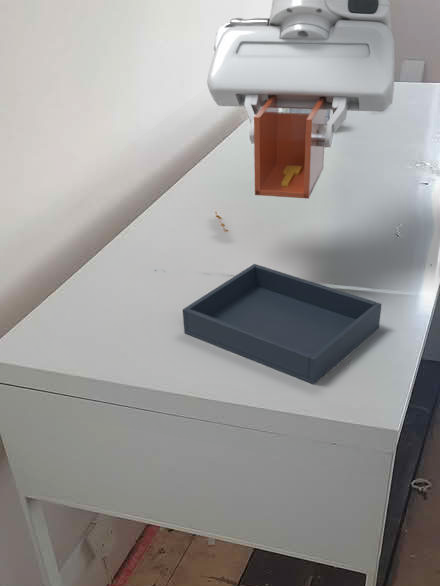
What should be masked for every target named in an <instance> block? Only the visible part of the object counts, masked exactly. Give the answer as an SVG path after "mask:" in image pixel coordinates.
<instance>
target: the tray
mask: <svg viewBox="0 0 440 586" xmlns="http://www.w3.org/2000/svg"><path fill="white" fill-rule="evenodd" d="M381 312H382V303H380V302H377V301H373V300H370V299H367V298H364V297H362V296H358V295H355V294H351V293H349V292H345V291H342V290H339V289H335V288H334V287H333V288H332V287H329V286H326V285H323V284H320V283H316V282H314V281H311V280H307V279H304V278H301V277H298V276H295V275H291V274H289V273H286V272H281V271H279V270H275V269H272V268H270V267H266V266H262V265H259V264H256V263H253V264H252V265H250V266H248V267H246V268H245V269H244V270H242V271H240V272H239V273H238V274H236V275H234V276H233V277H231V278H230V279H228V280H226V281H225V282H224V283H221V284H220V285H219V286H217V287H215V288H214V289H213V290H211V291H209V292H207V293H206V294H205V295H203V296H201V297H200V298H198V299H197V300H195V301H193V302H191V304H189V305H187V306H185V307H184V308H182V318H183V319H182V320H183V332H184V334H186V335H189V336H191V337H193V338H195V339H199V340H201V341H204V342H206V343H209V344H211V345H214V346H217V347H219V348H222V349H224V350H227V351H229V352H231V353H234V354H236V355H239V356H241V357H244V358H247V359H248V360H251V361H254V362H256V363H258V364H261V365H264V366H266V367H269V368H272V369H274V370H276V371H279V372H281V373H283V374H284V373H285V374H286V375H289V376H292V377H295V378H297V379H300V380H301V381H304V382H307V383H309V384H312V385H315V384H316V383H317V382H318V381H319V380H321V378H322V377H324V376H325V375H326V374H327V373H328V372H329V371H331V370H332V369H333V368H334V367H335V366H336V365H338V364H339V363H340V362H341V361H342V360H343V359H345V358H346V357H347V356H348V355H350V353H351V352H353V351H354V350H355V349H356V348H357V347H358V346H360V345H361V344H362V343H363V342H365V341H366V339H368V338H369V337H370V336H371V335H372V334H373V333H375V332H376V331H377V330H378V329H379V328H380V321H381Z"/></svg>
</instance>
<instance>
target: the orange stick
mask: <svg viewBox="0 0 440 586" xmlns="http://www.w3.org/2000/svg"><path fill="white" fill-rule="evenodd" d="M214 213H215V214H216V215H215V219H216V218H217V219H218V222H219V223H220V227H221V226H222V229H223V231H224V233H225V232H229V230H228V229H227V228H224V227H225V226H226V224H224V223H223V222H222V221H221V220H223V218H222V217H221V216H220V215H218V213H217V211H215V212H214Z"/></svg>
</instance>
